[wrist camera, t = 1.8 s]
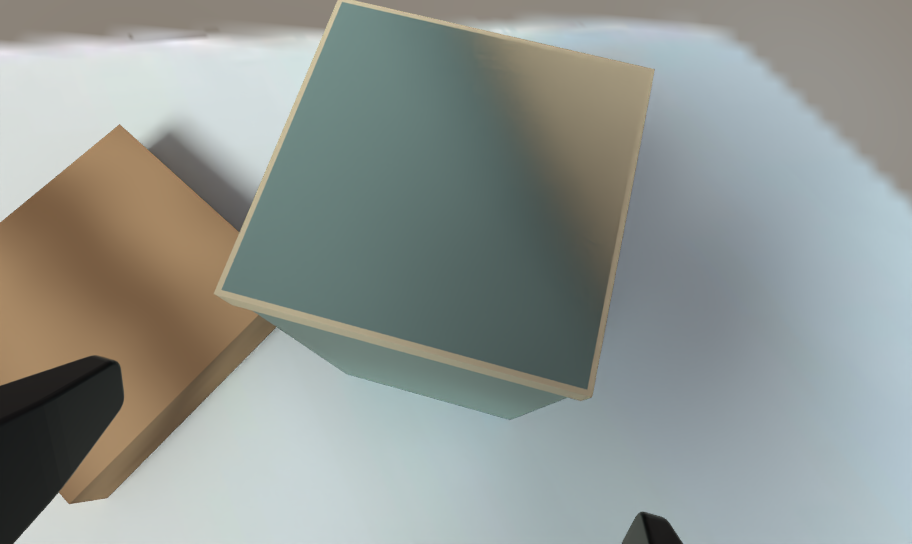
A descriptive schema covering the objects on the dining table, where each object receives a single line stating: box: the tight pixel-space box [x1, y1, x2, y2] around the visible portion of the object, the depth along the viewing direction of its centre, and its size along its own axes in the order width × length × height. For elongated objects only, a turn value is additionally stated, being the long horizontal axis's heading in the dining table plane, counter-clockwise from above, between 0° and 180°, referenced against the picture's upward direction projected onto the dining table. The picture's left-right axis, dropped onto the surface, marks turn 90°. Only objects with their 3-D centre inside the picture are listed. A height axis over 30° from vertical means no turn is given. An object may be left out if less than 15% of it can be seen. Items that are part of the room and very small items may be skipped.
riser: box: [0, 124, 276, 504], centre depth 21 cm, size 10×10×2 cm
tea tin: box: [214, 0, 655, 420], centre depth 16 cm, size 7×7×12 cm
